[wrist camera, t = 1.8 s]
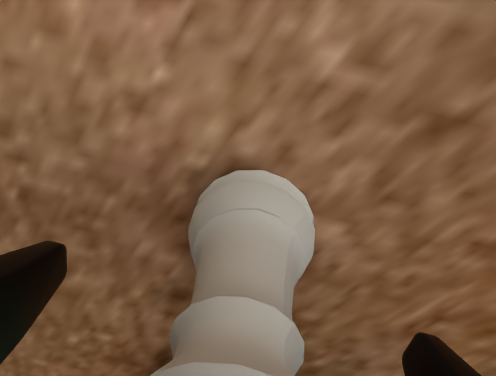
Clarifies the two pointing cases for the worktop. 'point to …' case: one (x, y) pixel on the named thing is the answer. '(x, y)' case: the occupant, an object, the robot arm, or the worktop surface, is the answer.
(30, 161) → the worktop surface
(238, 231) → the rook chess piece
